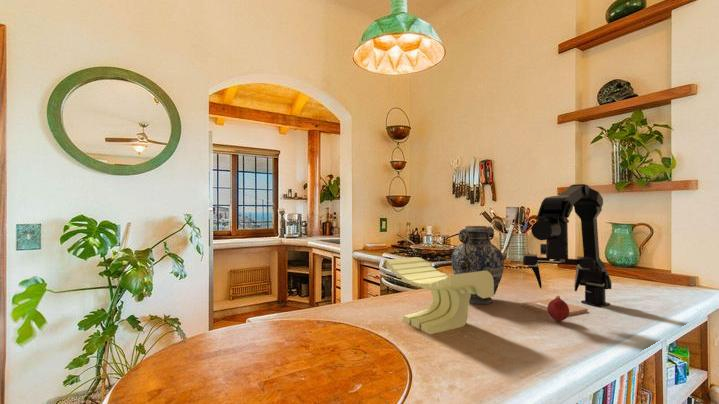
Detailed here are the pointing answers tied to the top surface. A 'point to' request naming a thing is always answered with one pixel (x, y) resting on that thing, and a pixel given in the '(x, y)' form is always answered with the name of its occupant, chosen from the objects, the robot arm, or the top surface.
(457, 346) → the top surface
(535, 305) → the letter tile
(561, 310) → the onion
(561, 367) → the top surface
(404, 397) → the top surface
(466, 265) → the decorative vase
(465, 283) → the slatted curved stool
